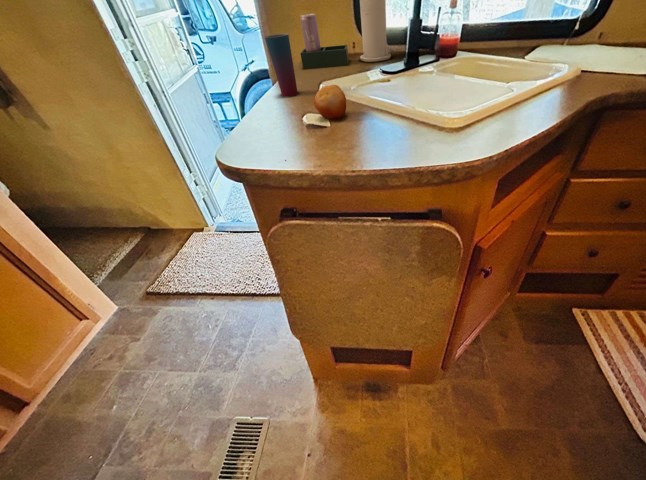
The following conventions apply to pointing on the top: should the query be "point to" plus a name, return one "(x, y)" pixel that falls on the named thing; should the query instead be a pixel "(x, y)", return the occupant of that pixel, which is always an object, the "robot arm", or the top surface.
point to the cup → (282, 62)
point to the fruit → (330, 102)
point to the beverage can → (310, 32)
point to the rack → (325, 57)
